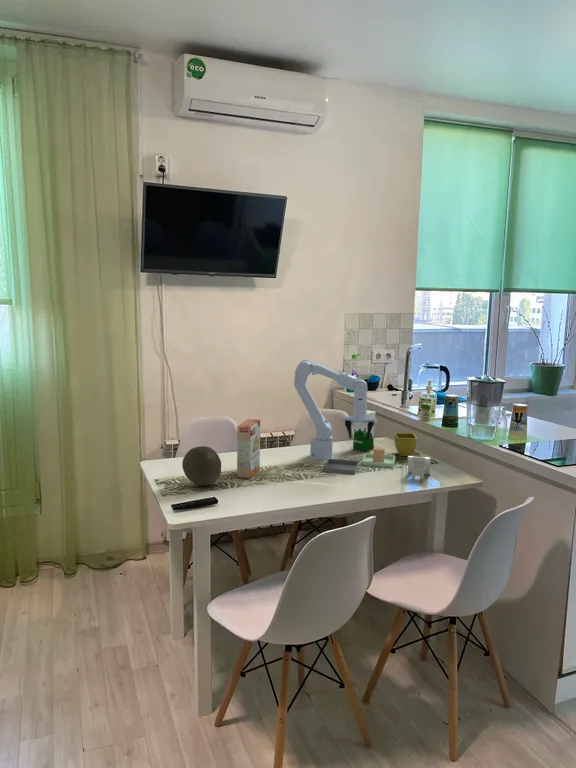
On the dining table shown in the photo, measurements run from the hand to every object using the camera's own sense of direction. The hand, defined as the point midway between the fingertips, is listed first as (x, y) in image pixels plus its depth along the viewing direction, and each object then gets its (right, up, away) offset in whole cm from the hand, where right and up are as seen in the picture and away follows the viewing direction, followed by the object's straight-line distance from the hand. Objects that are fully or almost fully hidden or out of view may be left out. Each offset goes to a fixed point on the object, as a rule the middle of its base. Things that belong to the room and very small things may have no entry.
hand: (359, 438), depth 249 cm
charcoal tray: (-9, -12, -13) cm, 19 cm away
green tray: (+8, -10, -4) cm, 13 cm away
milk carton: (+4, -7, +18) cm, 20 cm away
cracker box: (-47, -12, -18) cm, 52 cm away
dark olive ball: (-63, -15, -33) cm, 73 cm away
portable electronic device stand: (+21, -13, -20) cm, 32 cm away
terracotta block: (+8, -10, -4) cm, 13 cm away
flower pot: (+22, -8, +9) cm, 25 cm away
